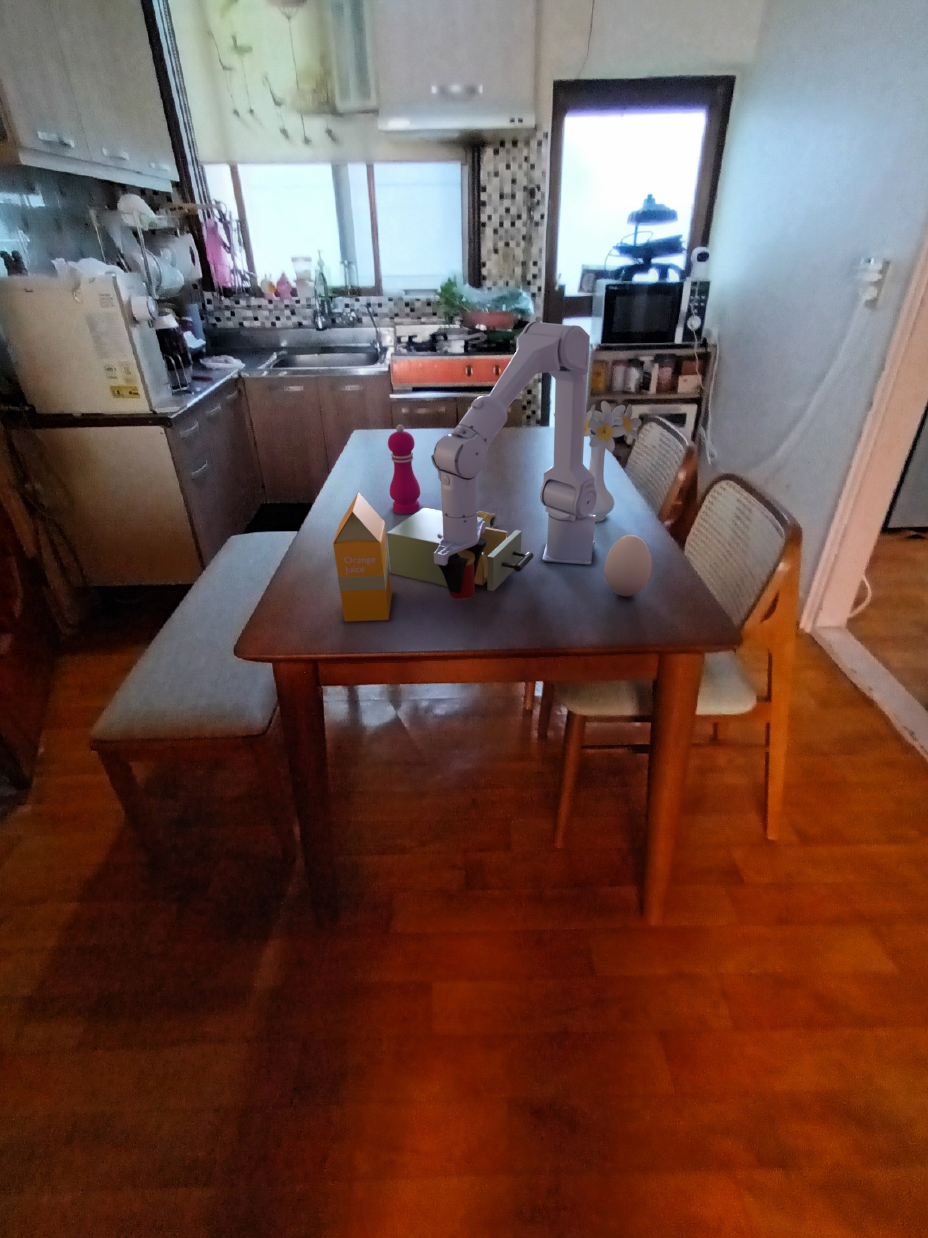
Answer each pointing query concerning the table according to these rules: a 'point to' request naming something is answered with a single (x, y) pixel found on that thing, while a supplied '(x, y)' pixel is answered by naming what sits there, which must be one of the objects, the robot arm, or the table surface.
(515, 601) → the table surface
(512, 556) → the drawer
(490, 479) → the table surface
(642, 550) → the egg
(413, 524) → the cabinet
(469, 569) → the tea tin
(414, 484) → the pepper mill
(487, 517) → the pastry
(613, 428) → the flower vase
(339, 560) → the orange juice
